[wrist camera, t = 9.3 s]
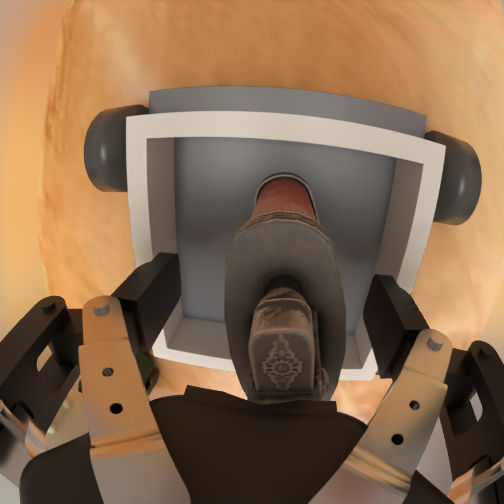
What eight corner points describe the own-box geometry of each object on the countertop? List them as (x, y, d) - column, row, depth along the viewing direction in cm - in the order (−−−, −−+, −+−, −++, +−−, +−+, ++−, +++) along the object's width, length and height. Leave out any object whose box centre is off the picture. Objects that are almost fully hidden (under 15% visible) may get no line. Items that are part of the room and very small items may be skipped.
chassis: (132, 97, 13) (84, 92, 9) (442, 124, 11) (488, 127, 7) (151, 325, 20) (126, 365, 16) (382, 350, 18) (395, 395, 14)
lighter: (246, 175, 13) (154, 284, 4) (316, 169, 12) (393, 271, 3) (264, 313, 16) (239, 476, 7) (321, 310, 16) (337, 475, 7)
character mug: (178, 401, 24) (138, 512, 12) (120, 388, 25) (72, 481, 13) (145, 316, 19) (56, 460, 7) (79, 308, 20) (-8, 412, 8)
